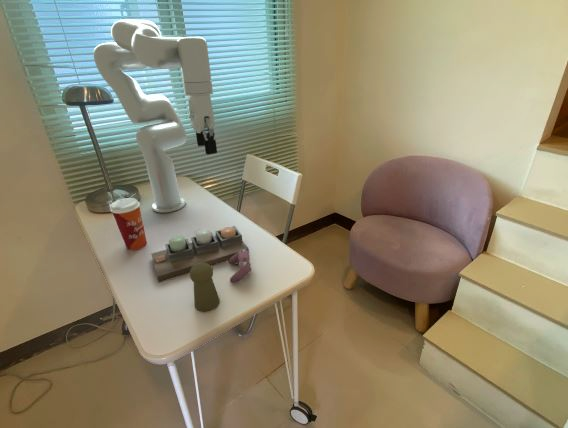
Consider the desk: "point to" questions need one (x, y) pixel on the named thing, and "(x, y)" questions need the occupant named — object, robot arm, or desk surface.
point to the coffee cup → (129, 222)
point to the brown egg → (228, 232)
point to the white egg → (203, 236)
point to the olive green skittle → (204, 288)
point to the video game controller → (240, 265)
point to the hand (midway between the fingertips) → (207, 149)
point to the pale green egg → (177, 244)
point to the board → (196, 255)
